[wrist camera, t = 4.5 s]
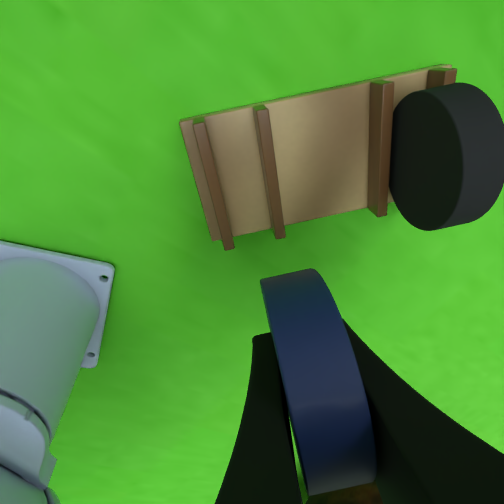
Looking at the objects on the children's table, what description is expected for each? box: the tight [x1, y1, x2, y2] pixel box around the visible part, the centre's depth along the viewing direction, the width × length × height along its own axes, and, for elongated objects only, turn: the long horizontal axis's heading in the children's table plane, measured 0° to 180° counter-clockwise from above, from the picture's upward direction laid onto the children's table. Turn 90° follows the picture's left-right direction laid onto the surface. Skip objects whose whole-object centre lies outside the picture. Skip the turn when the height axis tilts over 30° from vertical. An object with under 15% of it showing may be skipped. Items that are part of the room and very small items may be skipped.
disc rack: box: [179, 64, 457, 251], centre depth 18 cm, size 14×7×2 cm, turn 100°
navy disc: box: [260, 268, 377, 496], centre depth 11 cm, size 2×6×6 cm, turn 11°
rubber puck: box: [389, 83, 504, 231], centre depth 15 cm, size 2×6×6 cm, turn 11°
